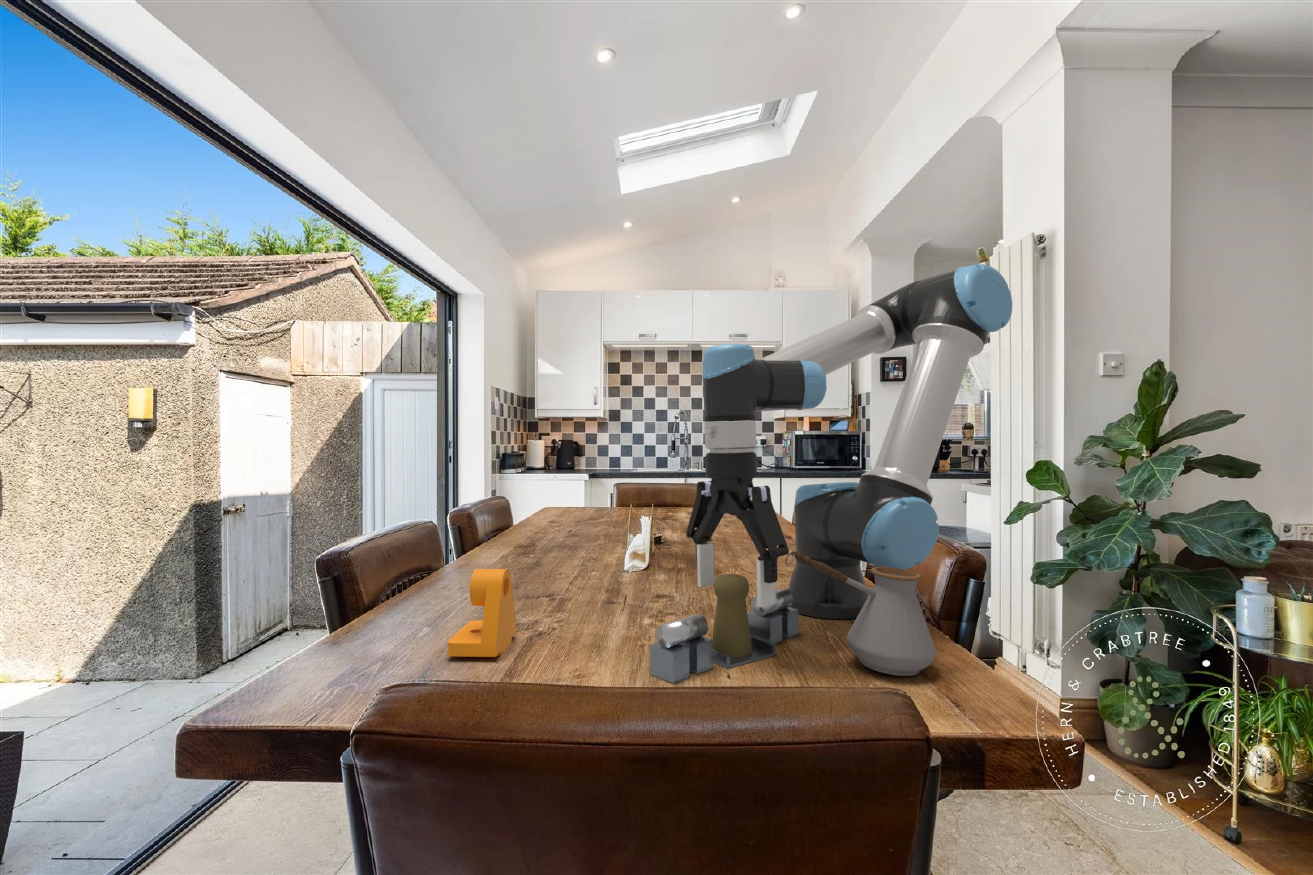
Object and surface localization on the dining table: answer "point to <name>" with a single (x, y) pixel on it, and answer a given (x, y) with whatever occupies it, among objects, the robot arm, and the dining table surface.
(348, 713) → the dining table surface
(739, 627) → the olive pepper mill
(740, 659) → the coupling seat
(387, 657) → the dining table surface
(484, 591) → the bracket
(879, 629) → the coffee pot
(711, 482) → the robot arm
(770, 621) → the shaft
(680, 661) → the shaft
